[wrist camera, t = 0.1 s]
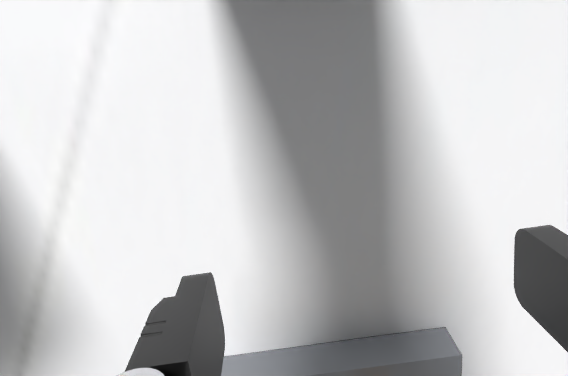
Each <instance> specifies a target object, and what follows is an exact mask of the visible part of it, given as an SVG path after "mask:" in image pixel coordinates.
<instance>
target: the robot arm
mask: <svg viewBox="0 0 568 376" xmlns="http://www.w3.org/2000/svg"><path fill="white" fill-rule="evenodd" d="M514 288H515V293H516V296H517V298H518V301H519V302H520V304H521V305H522V307H523V308H524V309H525V310H526V311H527V312H528V313H529V314H530V315H531V316H532V317H533V318H534V319H535V320H536V321H537V322H538V323H539V324H540V325H541V326H542V327H543V328H544V329H545V330H546V331H547V332H548V333H549V334H550V335H551V336H552V337H553V338H554V339H555V340H556V341H557V342H558V343H559V344H560V345H561V346H562V347H563V348H564V349H565V350H566V351H567V352H568V235H566V234H565V233H563V232H562V231H560V230H558V229H557V228H555V227H553V226H551V225H545V226H538V227H531V228H524V229H519V230H518V231H517V233H516V235H515V251H514ZM224 350H225V334H224V326H223V321H222V316H221V311H220V306H219V301H218V296H217V291H216V286H215V282H214V278H213V275H212V273H211V272H210V273H203V274H196V275H189V276H183V277H182V279H181V282H180V285H179V287H178V290H177V293H176V296H175V297H168V298H164V299H162V300H161V301H160V302H159V303H158V304H157V305H156V306H155V307H154V308H153V309H152V310H151V312H150V314H149V317H148V319H147V321H146V326H144V328H143V330H142V333H141V337H139V340H138V342H137V344H136V347H135V349H134V351H133V354H132V356H131V358H130V361H129V363H128V365H127V368H126V370H125V372H123V373H121V374H119V375H117V376H221V373H222V365H223V358H224Z"/></svg>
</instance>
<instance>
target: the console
mask: <svg viewBox="0 0 568 376" xmlns="http://www.w3.org/2000/svg"><path fill="white" fill-rule="evenodd" d="M461 375H462V354H461V353H460V351H459V349H458V347H457V346H456V344H455V342H454V341H453V339H452V337H451V336H450V334H449V332H448V331H447V329H446V327H442V328H435V329H427V330H420V331H412V332H405V333H397V334H390V335H383V336H375V337H368V338H360V339H353V340H345V341H338V342H330V343H323V344H315V345H308V346H300V347H293V348H285V349H278V350H270V351H263V352H255V353H248V354H240V355H233V356H225V357H224V358H223V365H222V373H221V376H461Z"/></svg>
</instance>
